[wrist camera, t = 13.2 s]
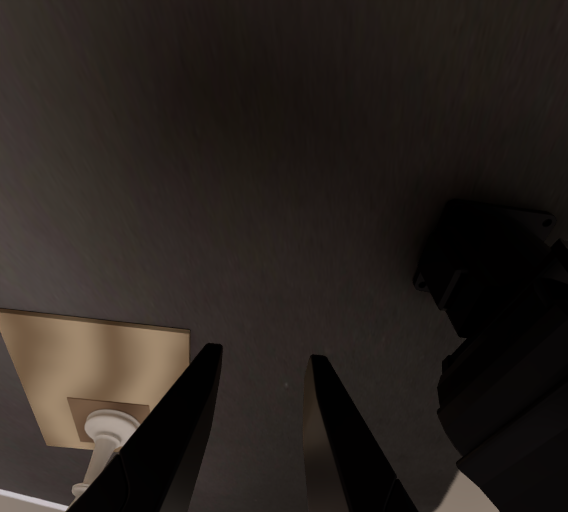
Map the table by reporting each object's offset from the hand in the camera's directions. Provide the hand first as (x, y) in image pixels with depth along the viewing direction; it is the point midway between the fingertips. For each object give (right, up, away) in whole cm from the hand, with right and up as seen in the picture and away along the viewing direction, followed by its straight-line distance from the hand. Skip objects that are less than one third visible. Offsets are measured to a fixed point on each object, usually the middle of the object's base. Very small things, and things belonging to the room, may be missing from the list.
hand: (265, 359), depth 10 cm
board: (-15, -9, +22) cm, 28 cm away
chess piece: (-15, -13, +24) cm, 31 cm away
